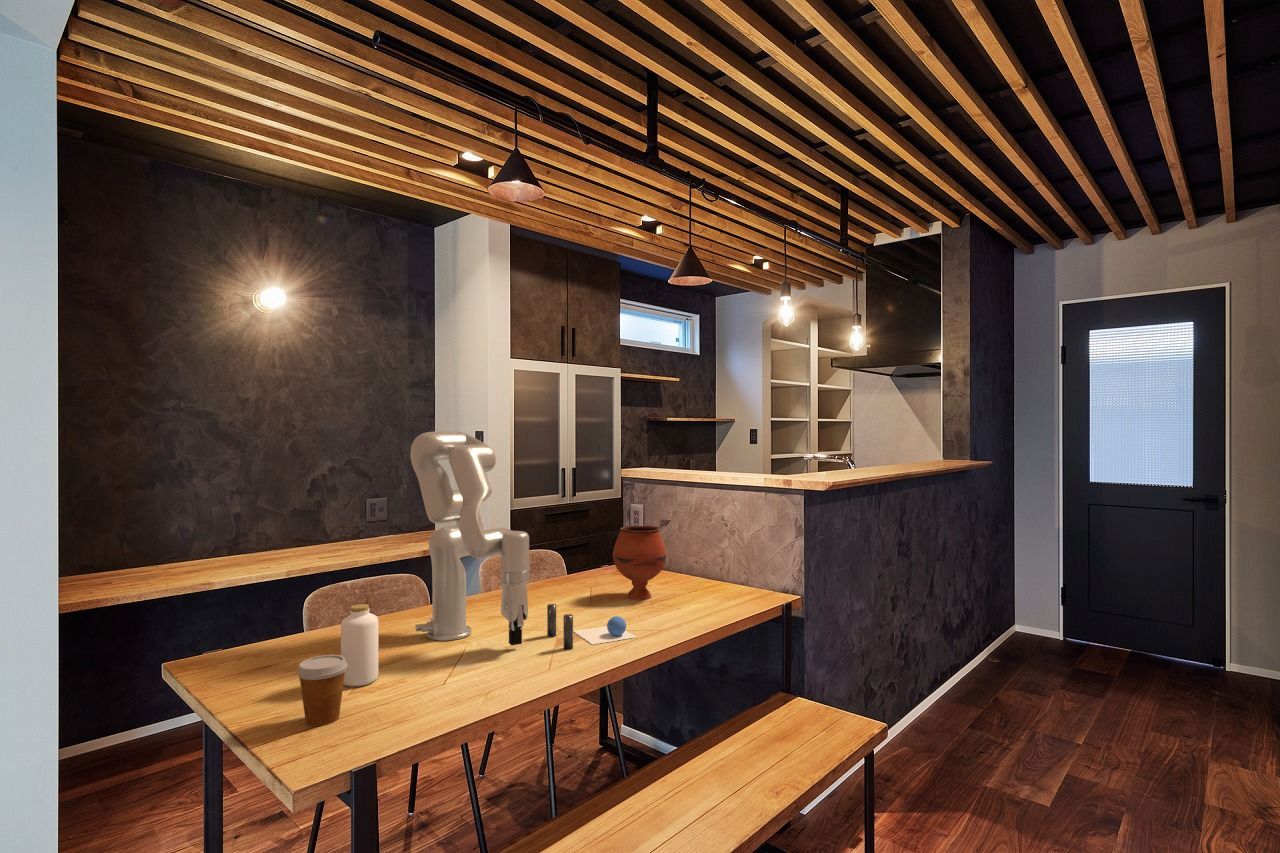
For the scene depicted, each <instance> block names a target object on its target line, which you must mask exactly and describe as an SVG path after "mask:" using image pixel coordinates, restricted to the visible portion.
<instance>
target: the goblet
mask: <svg viewBox="0 0 1280 853" xmlns="http://www.w3.org/2000/svg"><path fill="white" fill-rule="evenodd" d="M666 549H667V548H666V546H665V543H664V540H663V538H662V534H661V532H660V527H658V526H654V525H653V526H652V525H634V526H633V525H628V526H623V527H620V528H619V534H618V535H617V538H616V541H615V544H614V546H613V550H612V560H613V563H614V566H615V568H616V569H617V570H618V572H619V573H620V574H621V575H622V576H624V577H625V578H626V579H628V580H630V581H631V585H632V586H633V587H632V589H630V590H629V591H628V593H627V594H626V597H627V599H629V600H636V601H644V600H649V599H651V598H652V594H651V592H650V590H648V588H647V585H649V581H650V580H652V579H654V578H656V576H658V575H659V573H661V572H662V570H663V569H664V567H665V565H666V562H667V550H666Z"/></svg>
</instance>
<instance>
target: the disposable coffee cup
mask: <svg viewBox="0 0 1280 853" xmlns="http://www.w3.org/2000/svg"><path fill="white" fill-rule="evenodd" d="M347 666H348V664H347V663H346V661H345V658H344V657H343V656H341V655H338V654H327V655H317V656H314V657H310V658H307V659H305V660H303V661H301V662H300V663H299V666H298V668H297V670H296V675H297V676H298V678H299V682H300V690H301V691H300V692H301V698H302V704H303V711H304V712H303V713H304V720H305V725H308V726H312V727H318V726H319V727H321V726H326V725H329V724H332V723H334V722H336V721H337V720H338V719H339V718H340V712H341V704H342V698H343V697H342V696H343V688H344V684H343V683H344V675H345V670H346V668H347Z"/></svg>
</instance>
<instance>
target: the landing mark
mask: <svg viewBox="0 0 1280 853" xmlns="http://www.w3.org/2000/svg"><path fill="white" fill-rule="evenodd" d="M574 632H575V633H574ZM573 633H574V634H576V635H577V634H578V635H579V636H578V635H577V636H578V637H580V638H581V637H582V639H583V640H584V639H585V640H584V641H586V642H587V641H588V642H587V643H589V645H592V646H595V644H596V645H601V644H600V643H602V644H608V643H614V642H619V641H618V640H620V641H624V640H623V639H626V640H631V639H630V638H632V639H636V638H638V637H637V636H636V635H634V634H632V633H630V632H629V631H627V629H626V630H625V632H624V633H623V634H622V635H620V636H613V635H611V634H610V633H609V632H608V629H607V625H605V627H604V626H597V627H592V628H591V629H590V628H584V629H578V630H573ZM613 641H614V642H613ZM607 642H608V643H607Z"/></svg>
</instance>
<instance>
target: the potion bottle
mask: <svg viewBox="0 0 1280 853" xmlns="http://www.w3.org/2000/svg"><path fill="white" fill-rule="evenodd" d="M370 610H371V609H370V604H366V603H363V604H362V603H361V604H360V603H359V604H353V605H351V606H350V611H349V613H350V614H349V615H347V616H346V617H345V618H343V619H342V620H341V622H340V656H343V657H344V658H345V661H346V663H347V664H348V666H347V668H346V670H345V675H344V683H343V686H346V687H351V688H354V687H364V686H368V685H370V684H372V683H374V682H375V681H376V680H377V679H378V677H379V618H378V616H377V615H375V614H373V613H371V612H370Z"/></svg>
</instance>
